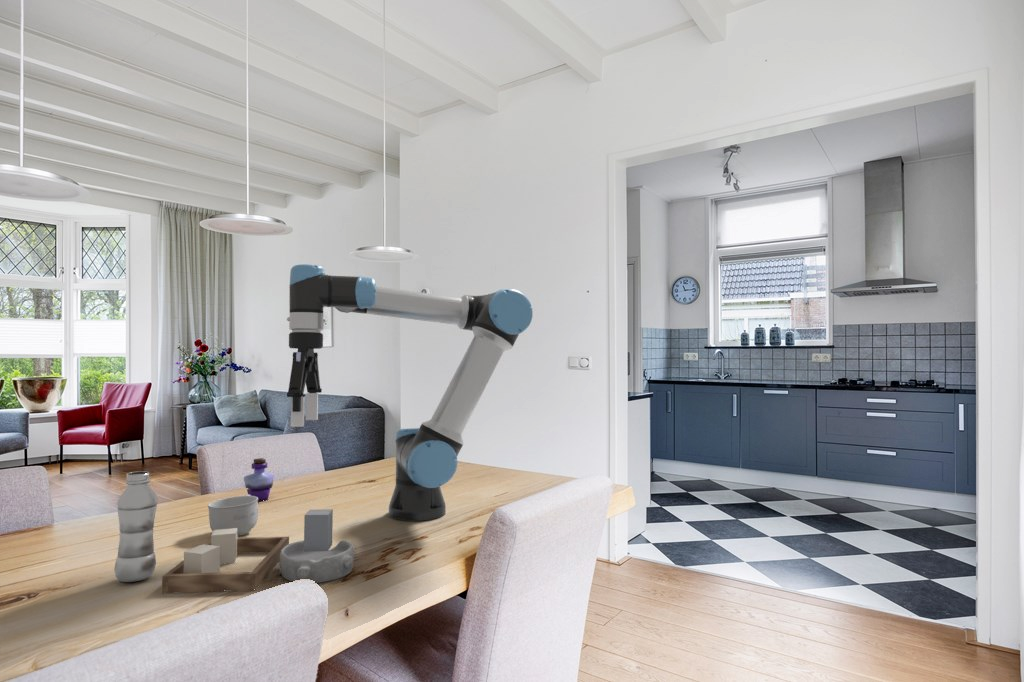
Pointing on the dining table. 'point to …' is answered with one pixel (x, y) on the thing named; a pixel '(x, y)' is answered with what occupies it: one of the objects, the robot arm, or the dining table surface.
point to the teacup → (234, 513)
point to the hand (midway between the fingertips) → (304, 423)
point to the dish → (316, 562)
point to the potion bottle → (259, 480)
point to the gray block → (318, 530)
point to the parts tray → (228, 580)
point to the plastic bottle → (136, 529)
